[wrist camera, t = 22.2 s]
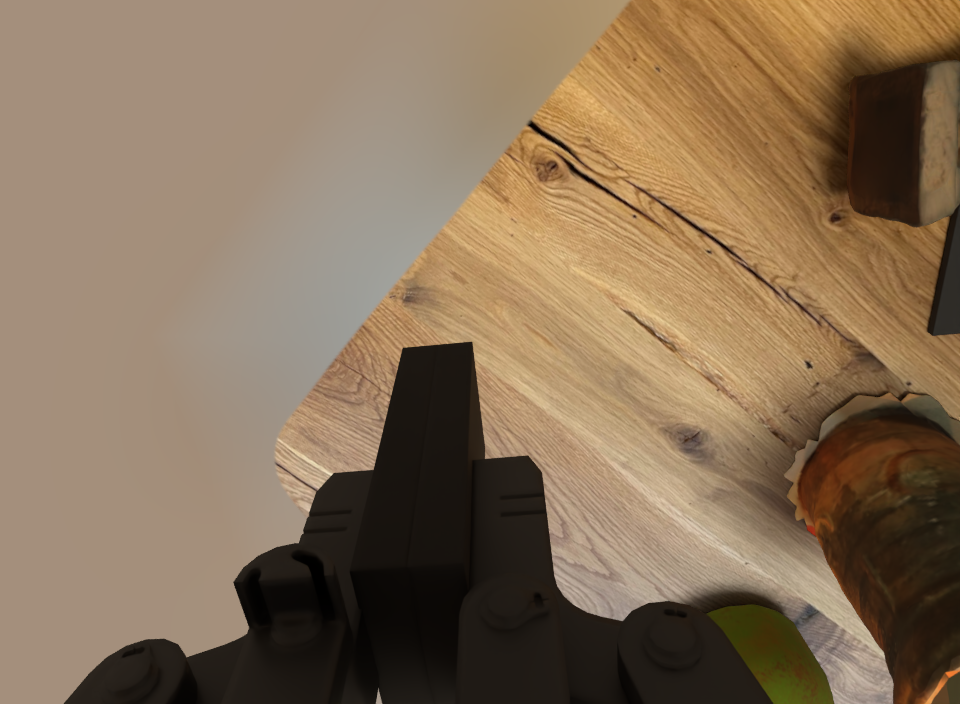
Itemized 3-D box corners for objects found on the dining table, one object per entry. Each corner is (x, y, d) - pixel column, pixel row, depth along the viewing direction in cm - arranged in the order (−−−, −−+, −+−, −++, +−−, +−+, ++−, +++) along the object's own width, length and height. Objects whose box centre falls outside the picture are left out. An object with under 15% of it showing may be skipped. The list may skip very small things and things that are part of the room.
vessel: (727, 490, 53) (850, 741, 35) (876, 353, 48) (1111, 566, 30) (856, 573, 57) (1028, 838, 39) (1008, 454, 51) (1287, 698, 33)
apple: (721, 694, 63) (763, 821, 54) (638, 638, 60) (667, 762, 50) (822, 628, 59) (888, 752, 50) (740, 565, 56) (792, 683, 47)
